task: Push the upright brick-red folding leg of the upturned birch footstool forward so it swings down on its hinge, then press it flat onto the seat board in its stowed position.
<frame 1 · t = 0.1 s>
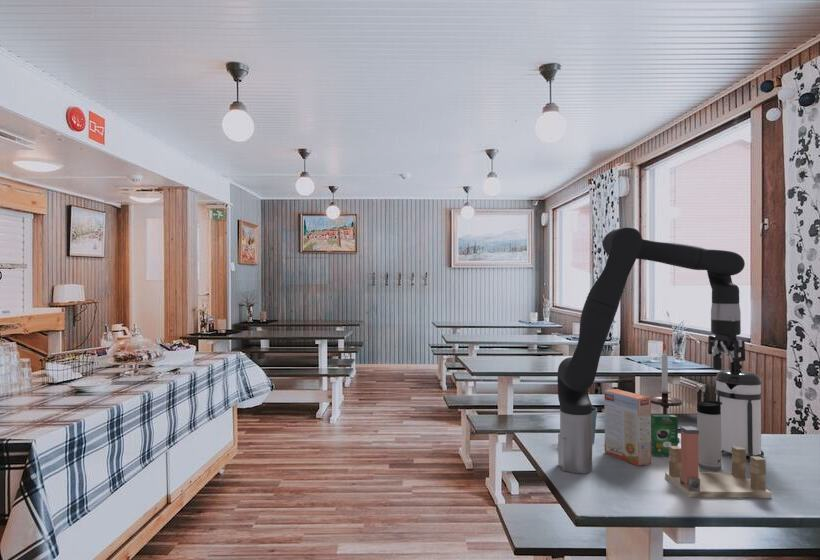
hand: (725, 372, 147), 29 cm above the table, tool pointing down, fingers open, 8 cm apart
candlestick: (665, 440, 175), on the table
drinking glass: (582, 441, 174), on the table
folding leg: (689, 455, 131), point 10 cm above the table, hinge at 0.0°
cracker box: (627, 458, 157), on the table
coffee press: (738, 454, 160), on the table
coffee box: (664, 455, 159), on the table
travel mug: (710, 467, 149), on the table
stool seat: (715, 487, 134), on the table
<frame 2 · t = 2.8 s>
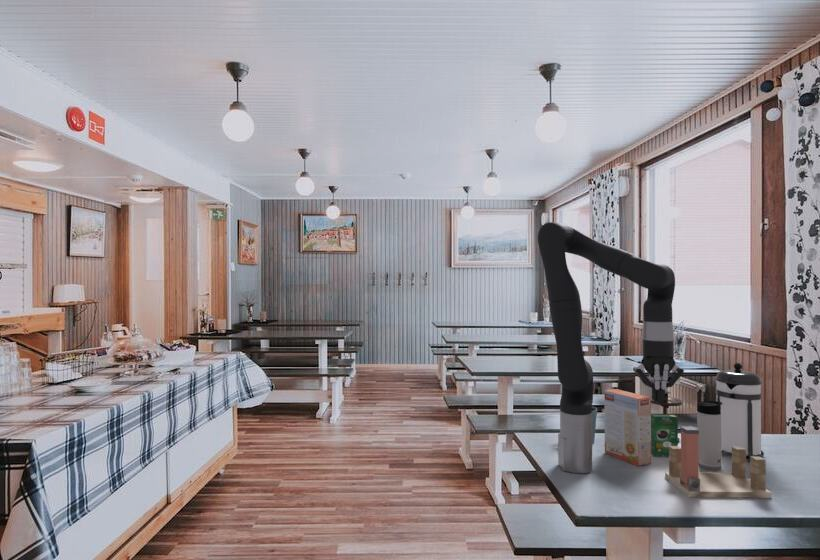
hand: (658, 402, 131), 24 cm above the table, tool pointing down, fingers closed
nothing on the table moved.
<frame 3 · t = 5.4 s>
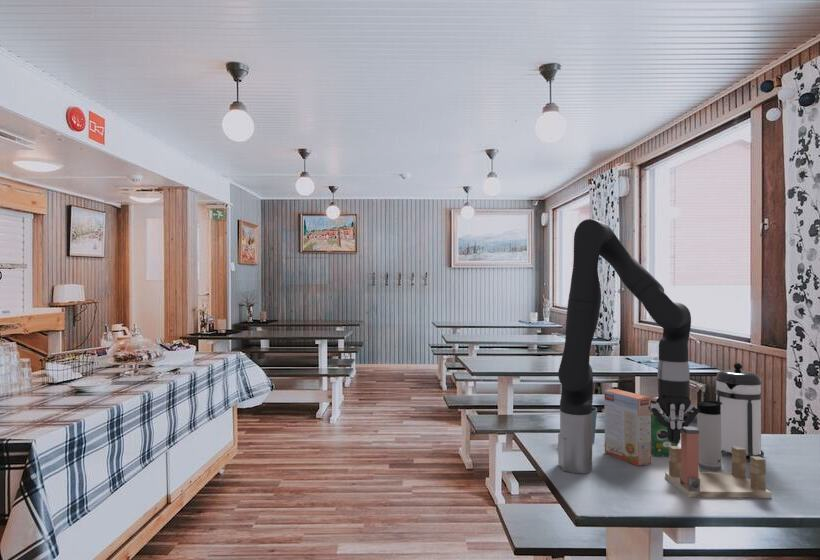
hand: (674, 442, 131), 14 cm above the table, tool pointing down, fingers closed
folding leg: (689, 455, 131), point 10 cm above the table, hinge at 0.2°, touching gripper
everything else where it was.
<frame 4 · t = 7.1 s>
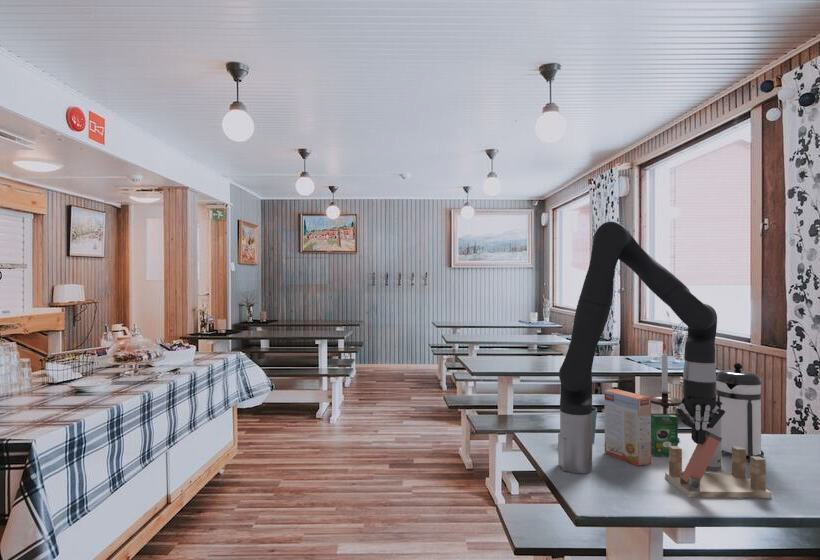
hand: (698, 442, 131), 13 cm above the table, tool pointing down, fingers closed
folding leg: (701, 458, 130), point 9 cm above the table, hinge at 26.1°, touching gripper
everything else where it was.
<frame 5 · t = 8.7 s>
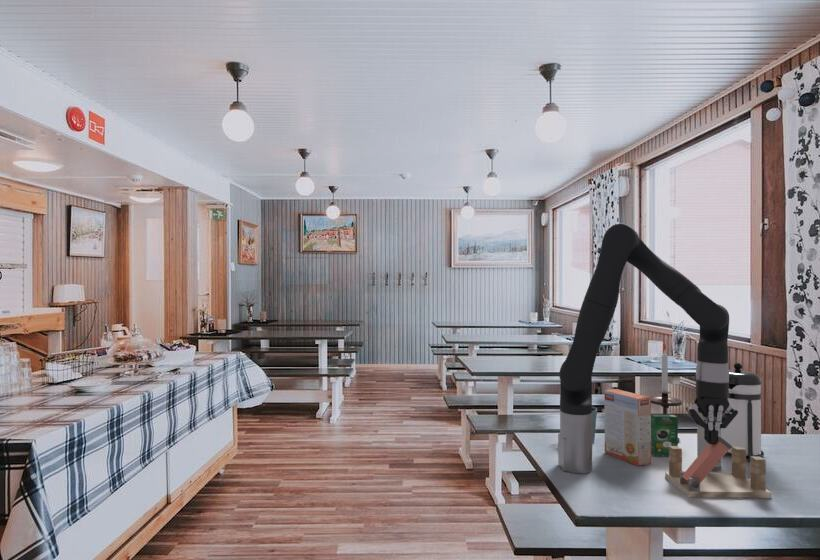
hand: (711, 443, 131), 13 cm above the table, tool pointing down, fingers closed
folding leg: (706, 461, 130), point 8 cm above the table, hinge at 39.9°, touching gripper
everything else where it was.
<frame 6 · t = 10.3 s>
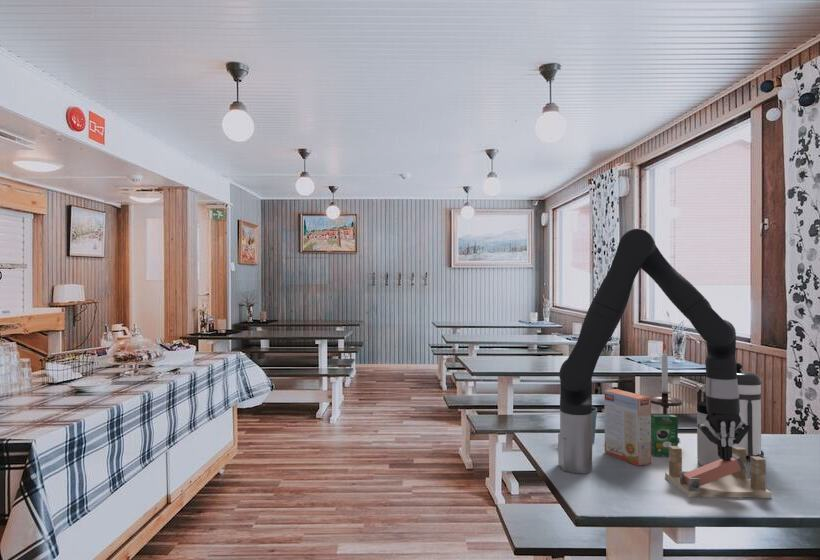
hand: (725, 459, 130), 9 cm above the table, tool pointing down, fingers closed
folding leg: (713, 471, 130), point 6 cm above the table, hinge at 67.5°, touching gripper
everything else where it was.
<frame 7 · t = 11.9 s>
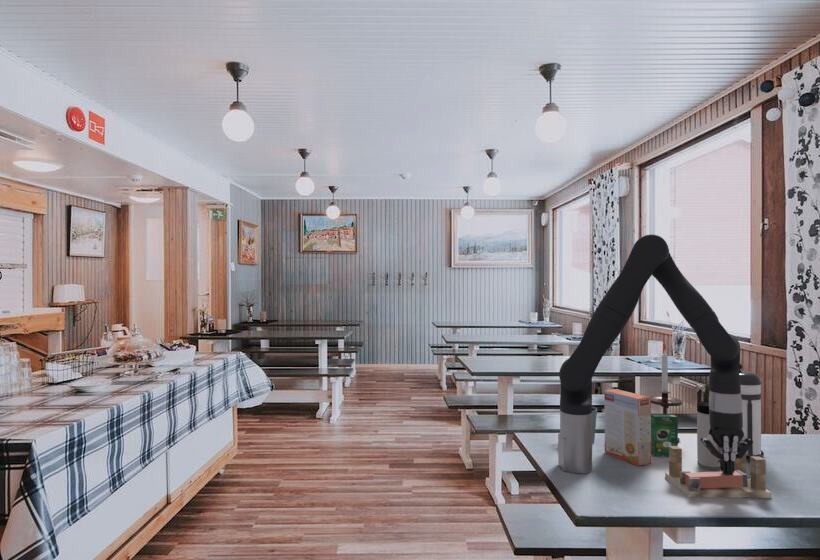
hand: (727, 473, 130), 5 cm above the table, tool pointing down, fingers closed
folding leg: (715, 479, 130), point 4 cm above the table, hinge at 86.9°, touching gripper
everything else where it was.
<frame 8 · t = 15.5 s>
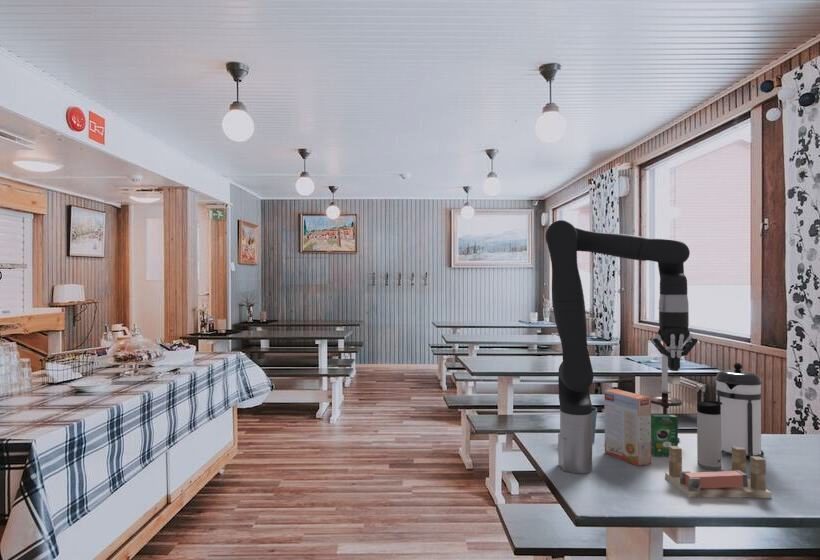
hand: (674, 370, 141), 31 cm above the table, tool pointing down, fingers closed
folding leg: (715, 479, 130), point 4 cm above the table, hinge at 86.9°
everything else where it was.
at the end: folding leg at +87° (first picture: +0°) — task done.
